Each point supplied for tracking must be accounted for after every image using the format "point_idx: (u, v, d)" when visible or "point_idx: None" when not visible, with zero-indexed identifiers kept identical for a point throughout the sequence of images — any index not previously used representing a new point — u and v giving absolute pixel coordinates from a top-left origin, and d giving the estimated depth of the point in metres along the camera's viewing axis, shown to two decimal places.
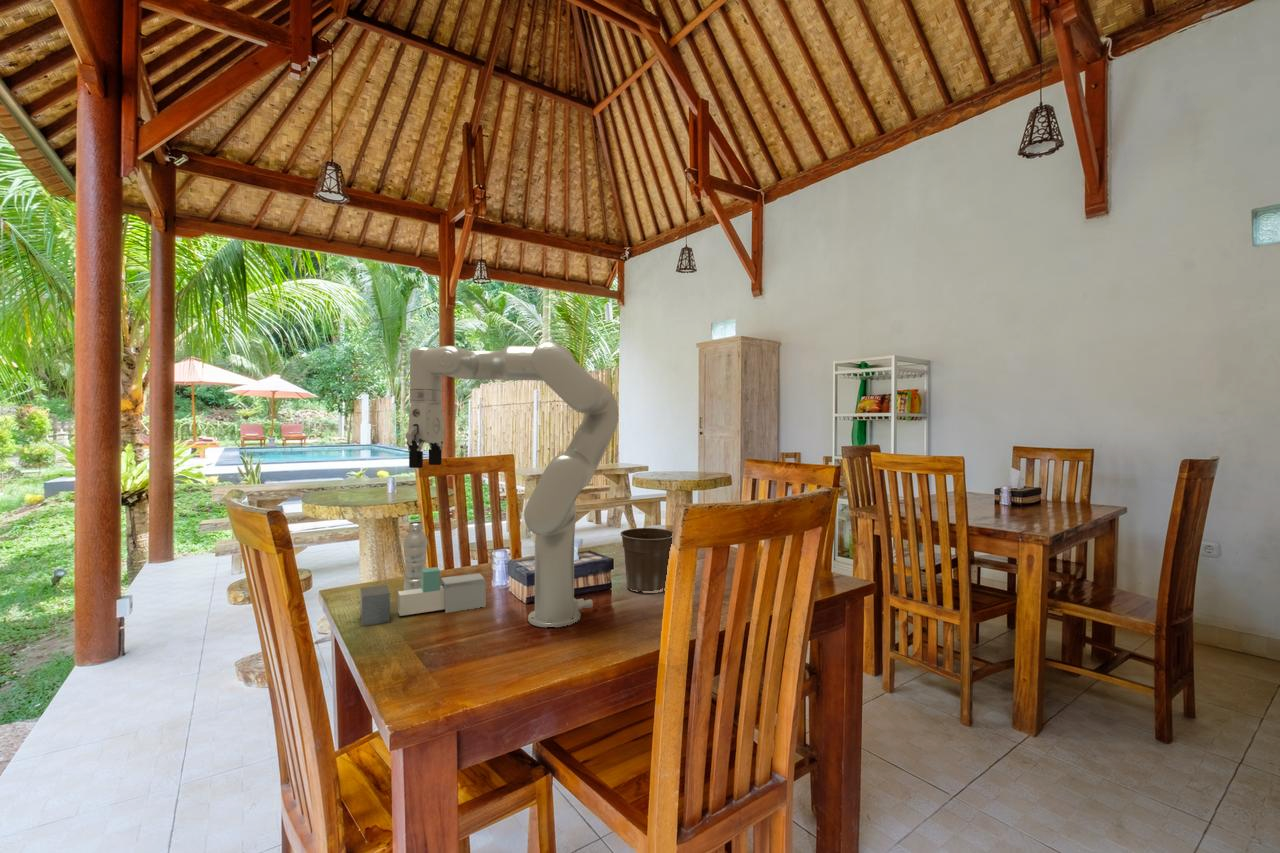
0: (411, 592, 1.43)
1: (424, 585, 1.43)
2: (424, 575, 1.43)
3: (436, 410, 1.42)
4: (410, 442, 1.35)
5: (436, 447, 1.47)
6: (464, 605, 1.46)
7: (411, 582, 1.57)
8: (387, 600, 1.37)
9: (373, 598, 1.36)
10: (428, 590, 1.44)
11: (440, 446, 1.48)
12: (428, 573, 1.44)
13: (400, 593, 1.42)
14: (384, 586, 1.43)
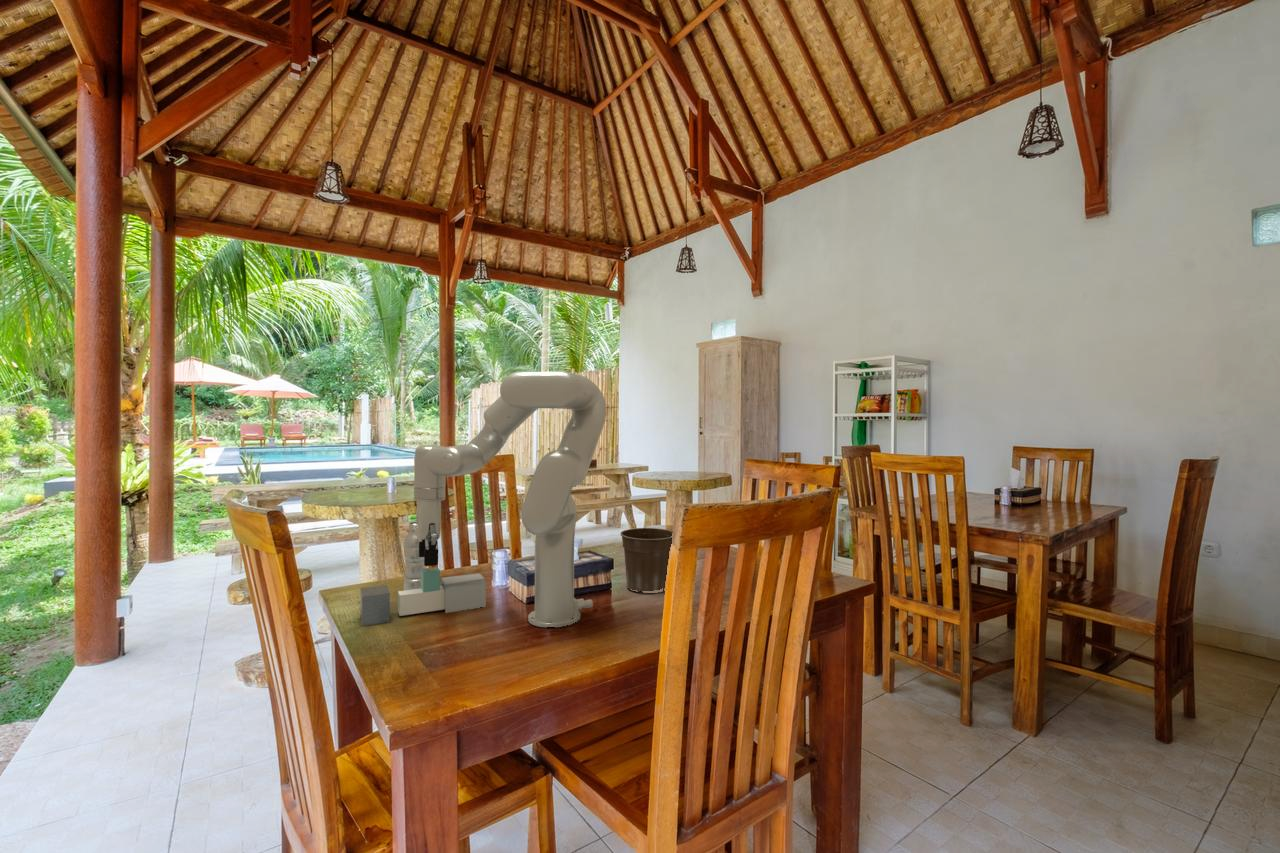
0: (411, 592, 1.43)
1: (424, 585, 1.43)
2: (424, 575, 1.43)
3: (417, 506, 1.44)
4: None
5: None
6: (464, 605, 1.46)
7: (411, 582, 1.57)
8: (387, 600, 1.37)
9: (373, 598, 1.36)
10: (428, 590, 1.44)
11: (425, 546, 1.41)
12: (428, 573, 1.44)
13: (400, 593, 1.42)
14: (384, 586, 1.43)
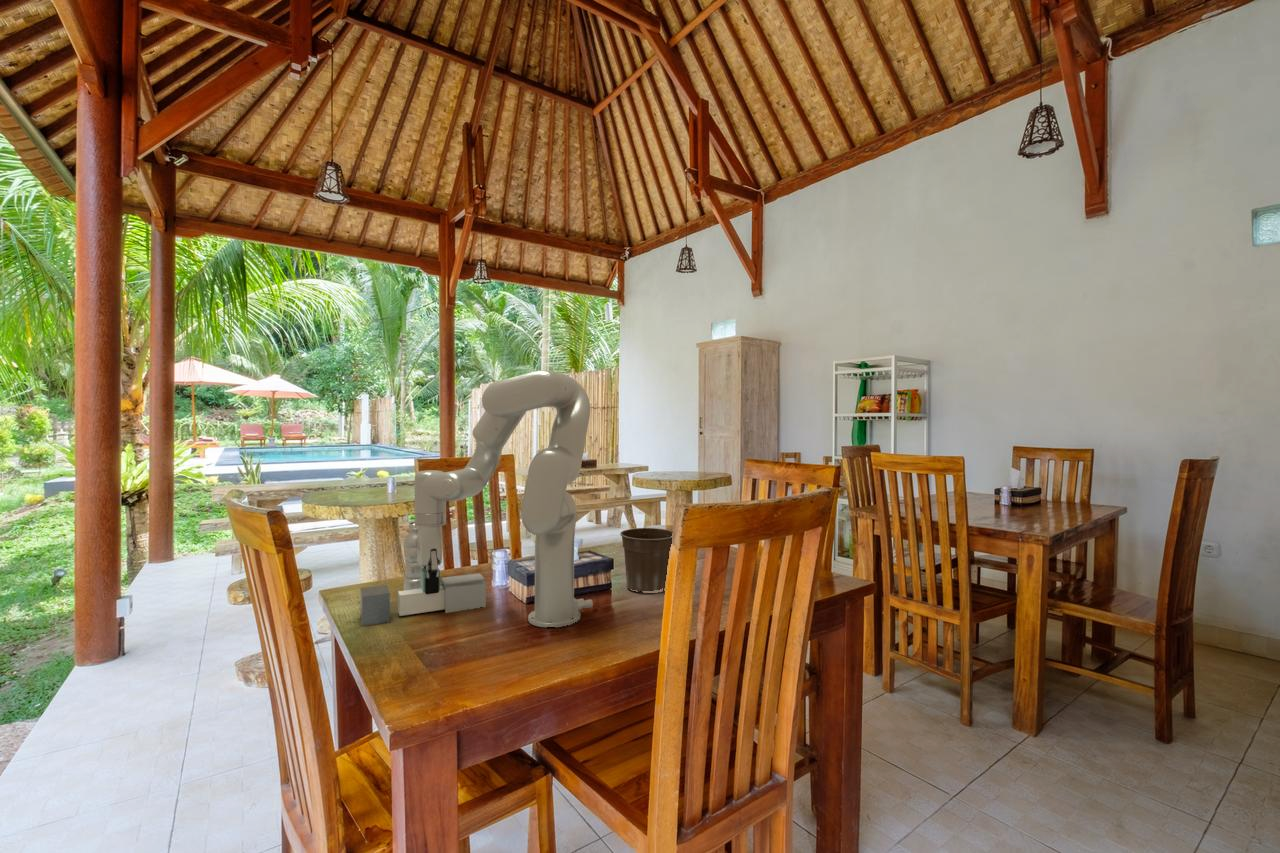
0: (411, 592, 1.43)
1: (424, 585, 1.43)
2: (424, 575, 1.43)
3: (418, 532, 1.44)
4: None
5: None
6: (464, 605, 1.46)
7: (411, 582, 1.57)
8: (387, 600, 1.37)
9: (373, 598, 1.36)
10: None
11: (426, 574, 1.43)
12: None
13: (400, 593, 1.42)
14: (384, 586, 1.43)
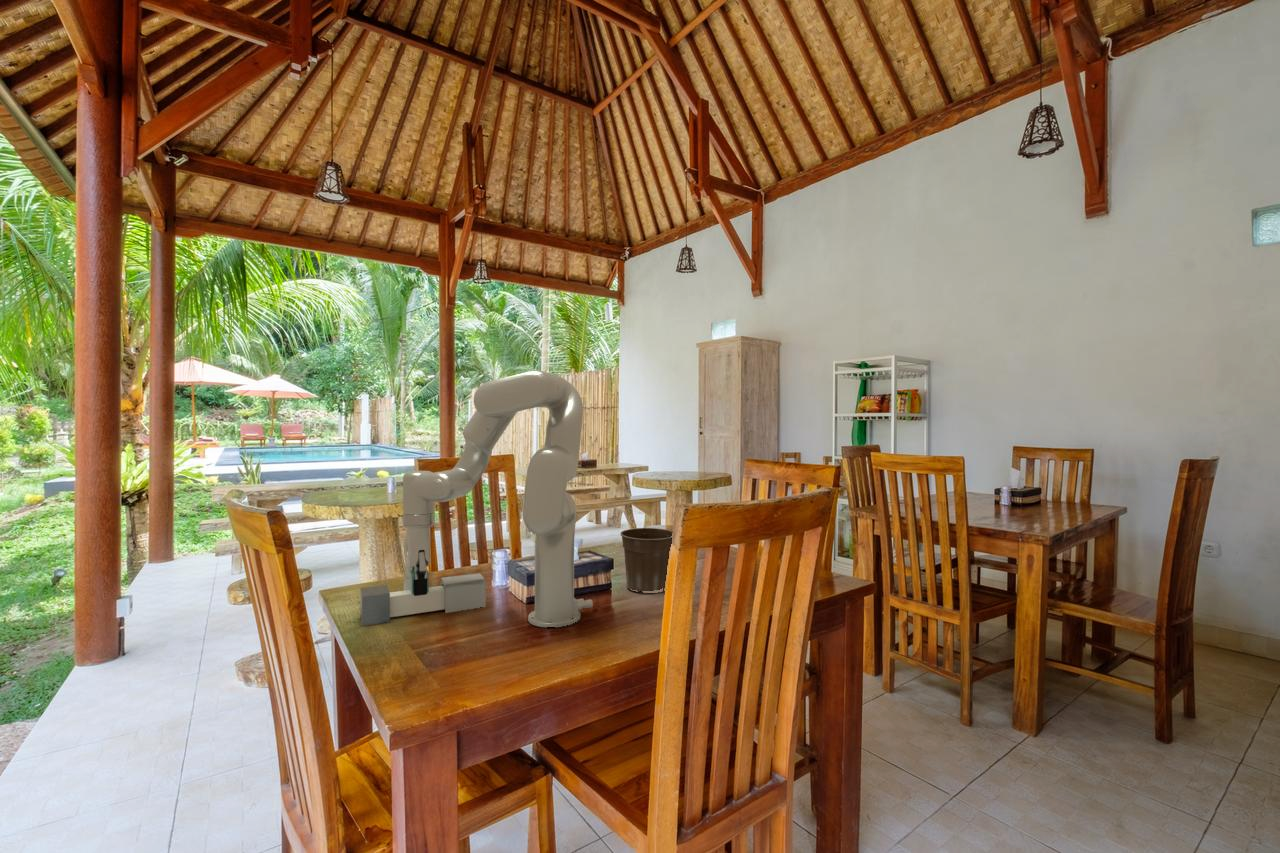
0: (399, 594, 1.42)
1: (412, 586, 1.42)
2: (412, 576, 1.42)
3: (407, 533, 1.43)
4: None
5: None
6: (464, 605, 1.46)
7: None
8: (387, 600, 1.37)
9: (373, 598, 1.36)
10: None
11: None
12: None
13: None
14: (384, 586, 1.43)
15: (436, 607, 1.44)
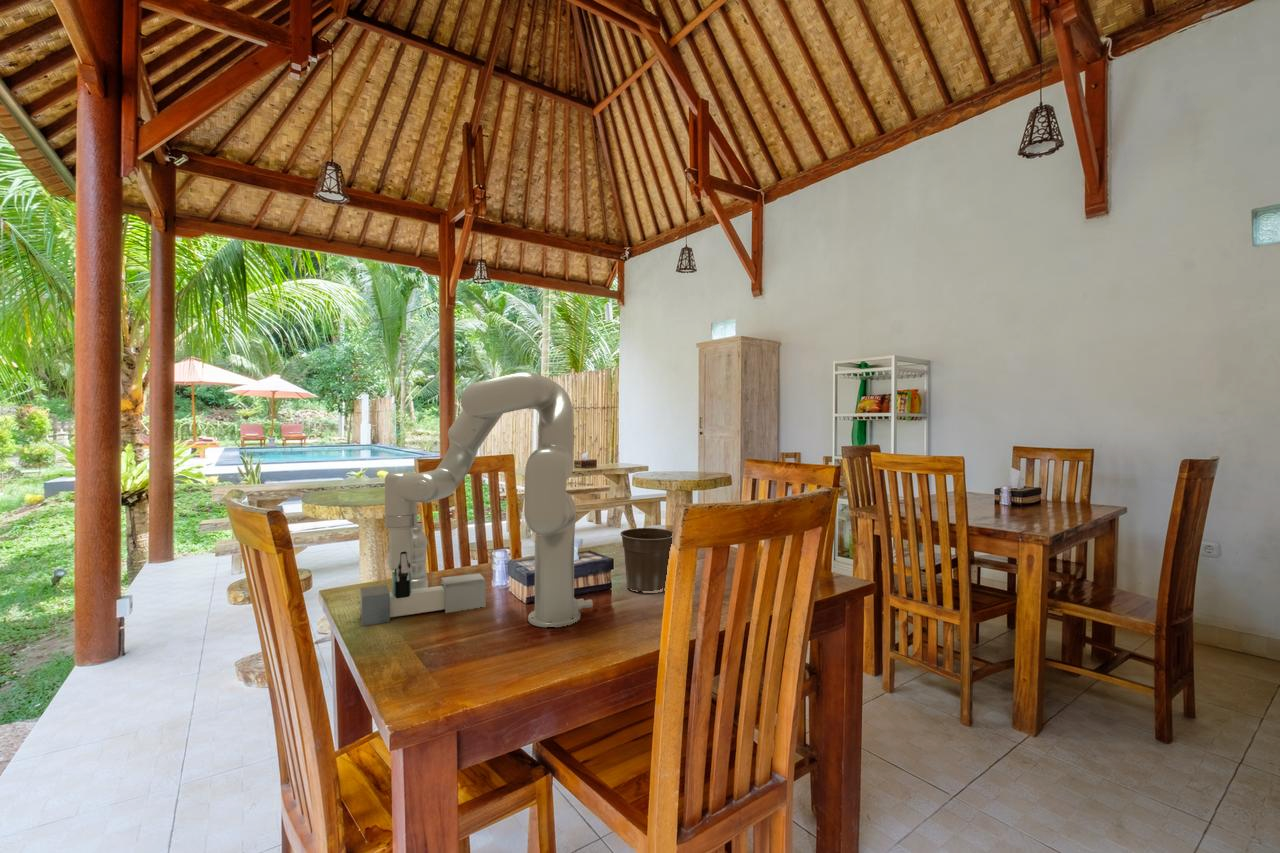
0: None
1: (394, 589, 1.40)
2: (394, 579, 1.40)
3: (389, 534, 1.41)
4: None
5: None
6: (464, 605, 1.46)
7: (411, 582, 1.57)
8: (387, 600, 1.37)
9: (373, 598, 1.36)
10: None
11: None
12: None
13: None
14: (384, 586, 1.43)
15: (418, 609, 1.42)
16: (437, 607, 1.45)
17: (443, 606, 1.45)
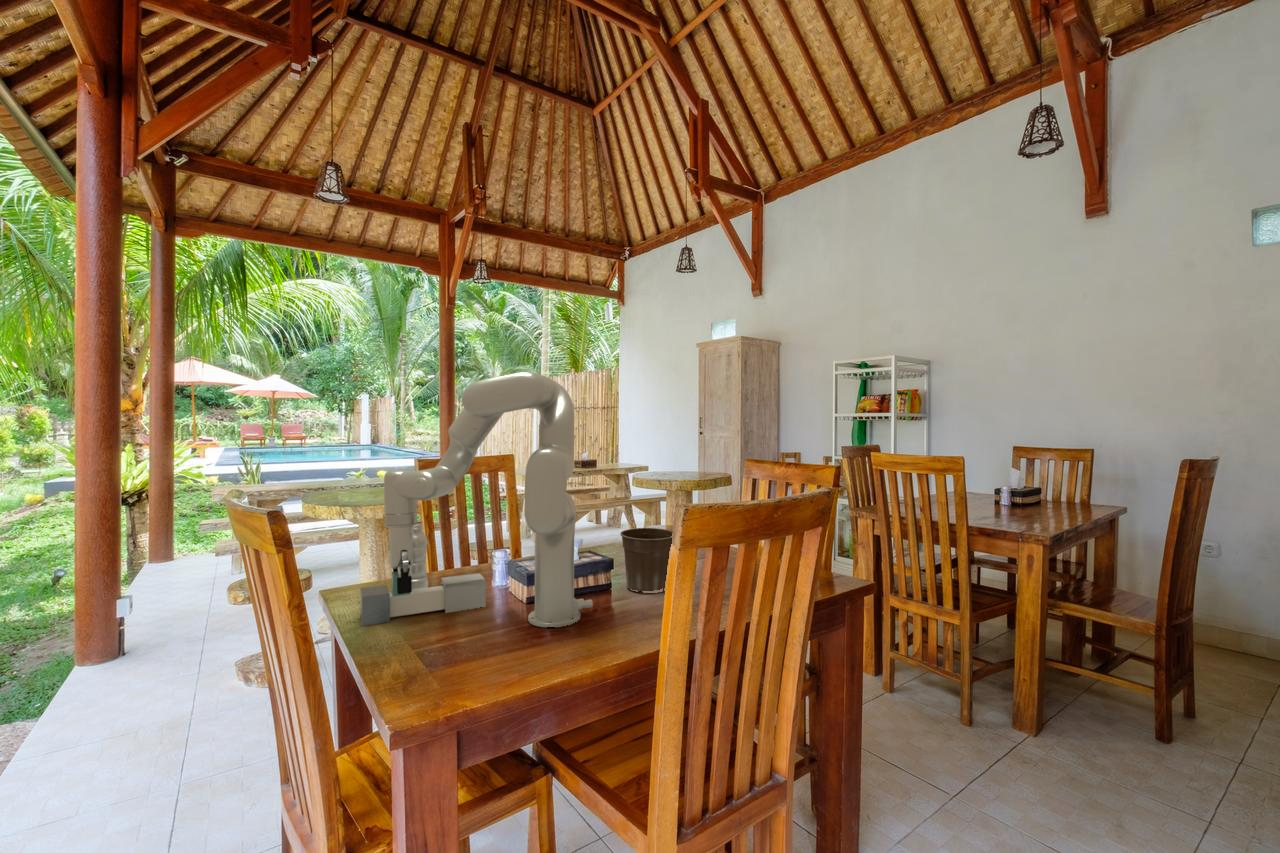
0: None
1: (394, 589, 1.40)
2: (394, 579, 1.40)
3: (389, 533, 1.41)
4: None
5: None
6: (464, 605, 1.46)
7: None
8: (387, 600, 1.37)
9: (373, 598, 1.36)
10: (398, 594, 1.40)
11: (398, 574, 1.37)
12: None
13: None
14: (384, 586, 1.43)
15: (417, 610, 1.42)
16: (436, 607, 1.45)
17: (442, 606, 1.45)
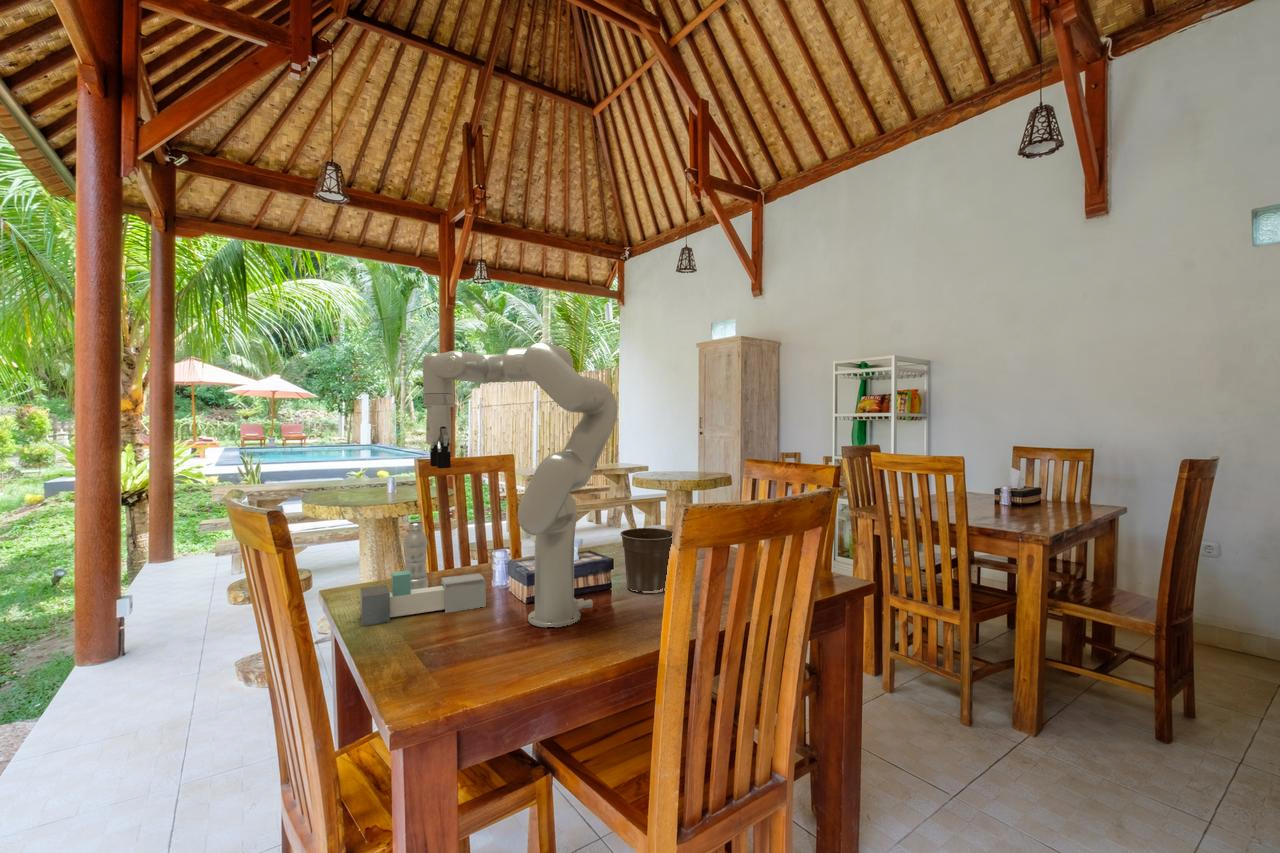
0: None
1: (394, 589, 1.40)
2: (394, 579, 1.40)
3: (428, 413, 1.48)
4: None
5: None
6: (464, 605, 1.46)
7: (411, 582, 1.57)
8: (387, 600, 1.37)
9: (373, 598, 1.36)
10: (398, 594, 1.40)
11: (438, 449, 1.44)
12: (398, 577, 1.40)
13: None
14: (384, 586, 1.43)
15: (417, 610, 1.42)
16: (436, 607, 1.45)
17: (442, 606, 1.45)
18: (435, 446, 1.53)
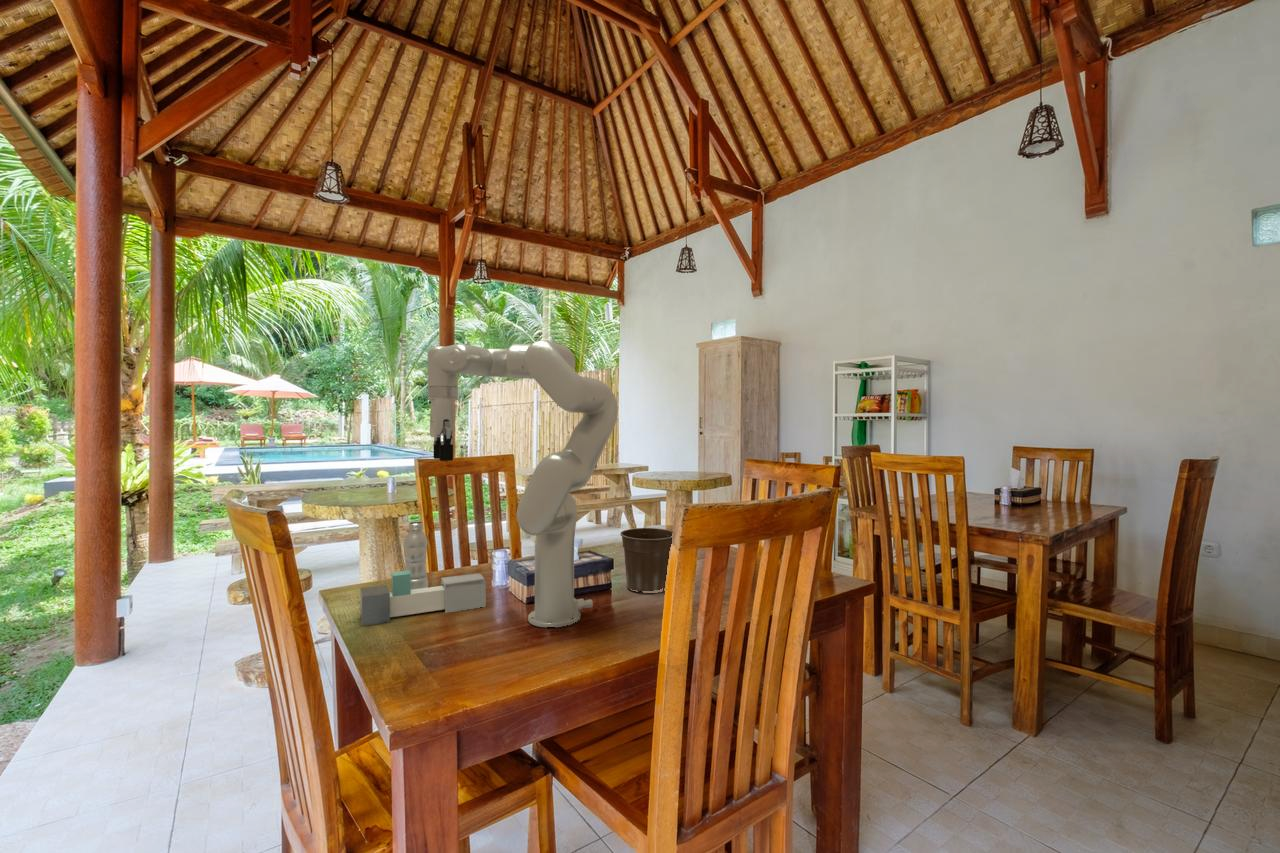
0: None
1: (394, 589, 1.40)
2: (394, 579, 1.40)
3: (431, 405, 1.48)
4: None
5: None
6: (464, 605, 1.46)
7: (411, 582, 1.57)
8: (387, 600, 1.37)
9: (373, 598, 1.36)
10: (398, 594, 1.40)
11: (440, 442, 1.45)
12: (398, 577, 1.40)
13: None
14: (384, 586, 1.43)
15: (417, 610, 1.42)
16: (436, 607, 1.45)
17: (442, 606, 1.45)
18: (438, 439, 1.54)
